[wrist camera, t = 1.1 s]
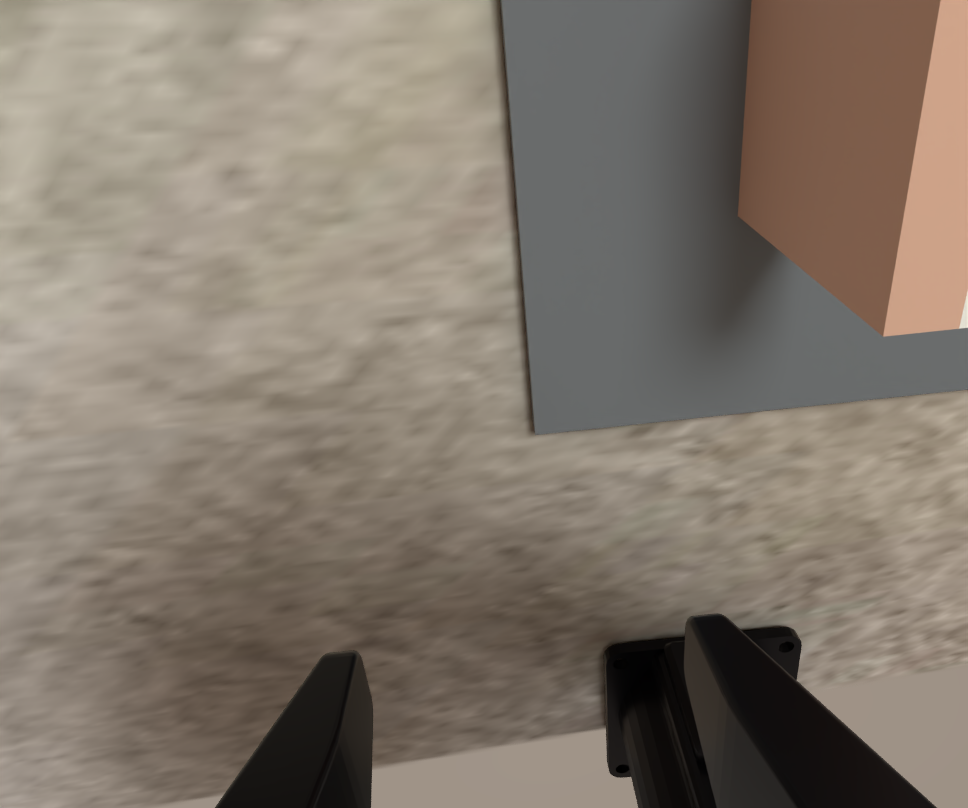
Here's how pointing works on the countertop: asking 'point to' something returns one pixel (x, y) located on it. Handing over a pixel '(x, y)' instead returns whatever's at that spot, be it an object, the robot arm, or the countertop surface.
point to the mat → (667, 232)
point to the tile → (863, 152)
